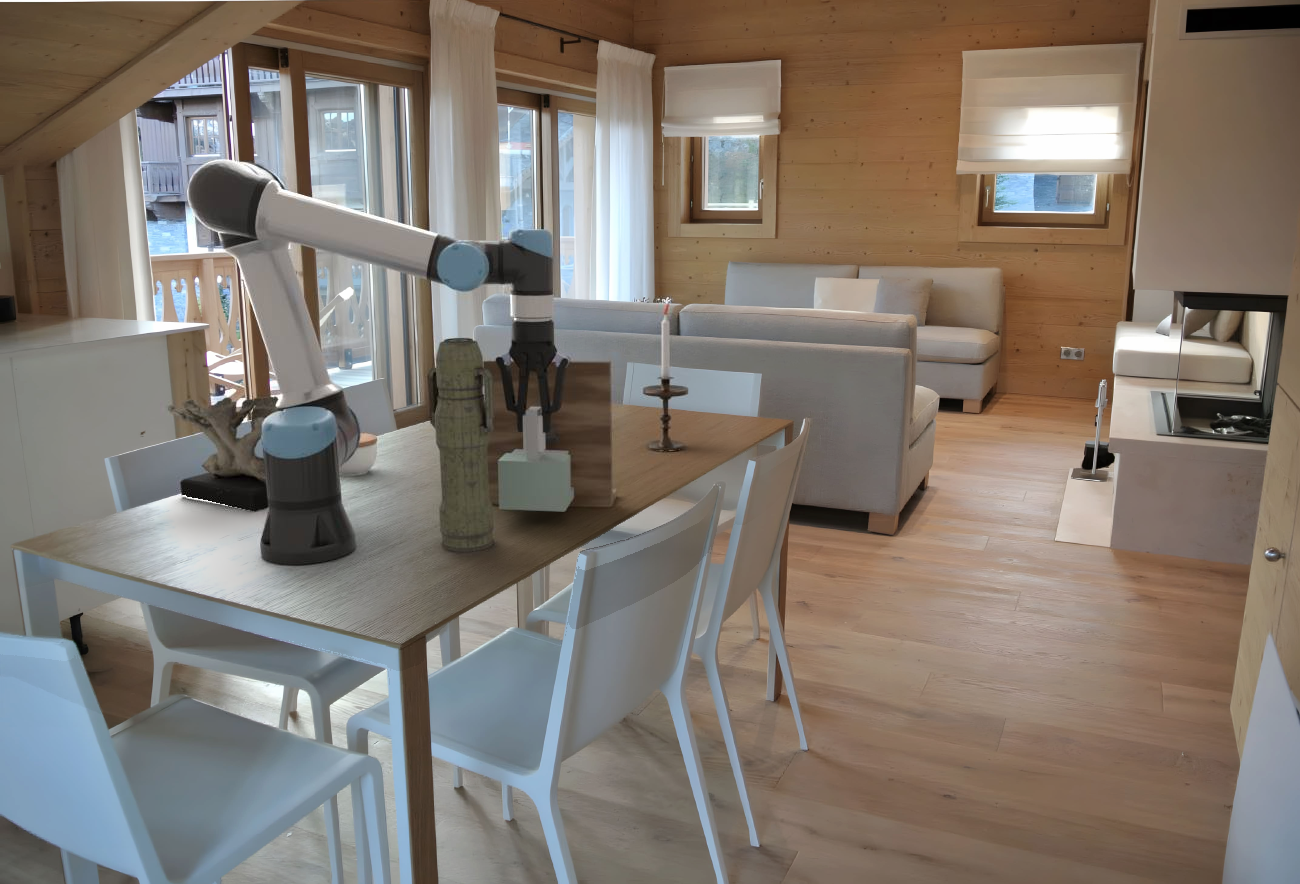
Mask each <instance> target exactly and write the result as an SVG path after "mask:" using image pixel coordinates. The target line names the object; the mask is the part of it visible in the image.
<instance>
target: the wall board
mask: <svg viewBox="0 0 1300 884" xmlns="http://www.w3.org/2000/svg"><path fill="white" fill-rule="evenodd" d="M555 363H556V360H553V361H552V362H551V364H550V365H549V366H548V368H547V378H548V387H549V395H550V404H551V405H552V403H553V395H554V387H555V379H556V372H557V368H558V367H557V366H556V364H555ZM509 366H510V369H511V376H512V382H513V388H514V395H515V401H516V404H517V399H518V387H519V368H518V366H517V365H516V363H515V362H514V361H513V359H511V364H510V365H509ZM483 367H484V369H488V370H489V372H490V373H491V375H492V376H493V390H494V416H495V418H494V431H491V432H489V434H490V442H489V445H488V447H487V455H488V480H489V498H490V500H491V503H492V505H498V506H499V483H498V460H499V459H500V458H501V457H502V456H503V455H504V454H505V453H512V452H513V451H514V450H515V449H523V432H518V429H517V414H516V413H515V412H512V411H508V410H507V408H506V402H505V396H504V389H503V383H502V377H501V371H500V368H499V367H498V365H497V363H496V359H485V360H483ZM483 394H485V379H484V386H483ZM484 401H485V400H484ZM485 404H486V401H485ZM530 407H541V401H540V392H539V384H538V378H537V372H533V371H530V374H529V381H528V393H527V404H526V409H529V408H530ZM525 413H526V411H525ZM612 415H613V413H612V361H611V360H570V363H569V364H568V366H567V368H566V372H565V379H564V387H563V395H562V403H561V408H560V409H559V410H558V411H557V412H554V413H552V414H551V429H550V431H549V433H545V447H546V449H545V450H561V451H568V455H570V471H571V487H574V498H573V500H572V501H571V503H570V504H569V506H568V507H581V508H582V507H585V508H590V507H592V508H612V506H613V505H614V502H615V500H616V499H617V496H618V494H617V493H618V490H617V489H618V488H614V487H613V428H612V426H613V425H612V424H613V423H612V422H613V420H612V419H613V418H612Z"/></svg>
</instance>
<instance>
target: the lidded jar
mask: <svg viewBox="0 0 1300 884" xmlns="http://www.w3.org/2000/svg"><path fill="white" fill-rule="evenodd" d="M377 454H378V437H377V436H376V435H375V434H372V433H363V432H361V438H360V441H359V445H358V447H357V449H356V451H355V453H354V454H353V456H352V457H351V458H350V459H349V460H348V461H347V462H345V463H344V464H343V465H342V466H341V467H340V468H339V469H340V476H345V477H356V476H358V477H359V476H362V475H365V474H368V473H369V471H370V470H371V468H373V466H374V464H375V463H376V460H377V457H378V456H377Z"/></svg>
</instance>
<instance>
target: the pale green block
mask: <svg viewBox="0 0 1300 884" xmlns="http://www.w3.org/2000/svg"><path fill="white" fill-rule="evenodd" d="M541 413H542V410H541V407H530V408H529V409H527V410H526V446H527V451H523V449H515V450H514V451H513V452H512V453H505V454H504V455H503V456H502V457H501V458H500V459H499V460H498V483H499V505H498V509H499V510H510V511H511V510H512V511H513V510H515V511H517V510H518V511H537V512H539V511H541V512H564V513H565V512H566V510H567V509H568V508H569V507H570V506H569V504H570V503H571V501H572V500H573V498H574V487H571V471H570V455H568V451H561V450H544V451H543V452H538V415H540V414H541Z"/></svg>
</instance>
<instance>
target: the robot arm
mask: <svg viewBox="0 0 1300 884" xmlns="http://www.w3.org/2000/svg"><path fill="white" fill-rule="evenodd" d="M186 194H187V202H188V205H189V209H190V210H191V212H192V214H193V216H194V217H195V218H196V219H197V221H199V222H200V223H201V224H202V225H203V226H205V227H206V228H208V229H210V230H212V231H213V232H216V233H217V234H218V237H219V240H220V244H221V246H222V249H223V251H224V252H225V253H226V254H228V255H230V256H231V257H233V258H235V259H236V261H237V264H238V267H239V270H240V273H241V276H242V279H243V282H244V283H243V284H244V285H245V287H246V288H245V289H246V291H247V294H248V297H249V302H250V304H251V306H252V310H253V312H254V315H255V319H256V321H257V325H258V327H259V331H260V334H261V338H262V340H263V343H264V346H265V349H266V353H267V355H268V359H269V361H270V364H271V368H272V370H273V372H274V373H273V375H275V379H276V382H277V385H278V389H279V391H280V397H279V398H278V400H277V404H276V409H277V412H275V413H273V414H271V415H269V416H268V417H267V418H266V419H265V420H264V422H263V424H262V435H261V439H260V444H261V446H262V454H263V457H262V458H264V467H265V478H266V488H267V499H268V508H267V513H266V514H267V515H266V518H265V523H264V526H263V529H262V533H261V538H260V542H259V544H260V556H261V558H262V559H263V560H265V561H267V562H268V563H274V564H279V565H295V566H296V565H310V564H316V563H323V562H328V561H332V560H335V559H338V558H342V557H343V556H346V555H348V554H350V553H352V552H353V551H354V550H355V548H357V543H356V532H355V530H354V528H353V526H352V523H351V520H350V518H349V515H348V514H347V512H346V509H345V507H344V504H343V499H342V488H341V487H342V484H341V475H340V469H339V468H340V467H341V466H342V465H343V464H344V463H345V462H347V461H348V460H349V459H350V458H351V457H352V456H353V454H354V453H355V451H356V449H357V447H358V445H359V441H360V438H361V433H362V426H361V422H360V419H359V417H358V415H357V413H356V411H354V409H353V408H352V407H351V406H350V405H348V402H347V400H346V396H345V393H344V391H343V387H342V386H340V385H338V384H337V383H335V382H333V381H332V380H331V379H330V375H329V374H330V373H329V372H328V368H327V365H326V362H325V359H324V356H323V352H322V350H321V346H320V343H319V341H318V337H317V334H316V331H315V328H314V325H313V322H312V319H311V315H310V312H309V309H308V306H307V303H306V300H305V296H304V293H303V289H302V286H301V284H300V281H299V276H298V274H297V271H296V268H295V264H294V261H293V258H292V255H291V252H290V249H289V246H290V244H291V243H293V244H297V245H300V246H304V247H307V248H312V249H315V250H319V251H321V252H326V253H329V254H333V255H337V256H341V257H344V258H348V259H351V260H355V261H359V262H361V263H365V264H369V265H374V266H377V267H380V268H385V269H386V270H391V271H394V272H399V273H403V274H406V275H410V276H414V277H418V278H420V279H421V278H422V279H424V280H426V281H430V282H434V283H437V284H440V285H444V286H447V287H448V288H450V289H451V290H454V291H457V292H465V293H466V292H471V291H474V290H476V289H478V288H479V287H480V286H483V285H485V286H486V285H487V286H488V285H500V286H502V285H504V286H505V285H509V289H510V290H509V292H510V293H509V294H510V297H509V298H510V300H509V301H510V317H511V318H513V319H512V320H511V322H510V338H511V339H510V341H511V342H510V346H509V348H508V352H506V353H505V354H501V355H499V356H497V357H496V358H495V360H496V363H497V365H498V367H499V368H500V371H501V377H502V383H503V389H504V396H505V402H506V408H507V410H508V411H512V412H515V413H516V414H517V429H518V432H523V451H527V446H526V413H525V411H526V410H527V409H526V404H527V393H528V381H529V374H530V371H533V372H537V378H538V384H539V392H540V401H541V410H542V413H541V414H540V415H538V452H543V451H544V450H545V449H546V447H545V433H549V431H550V429H551V414H552V413H554V412H557V411H558V410H559V409H560V408H561V403H562V395H563V387H564V379H565V372H566V368H567V366H568V364H569V363H570V361H571V358H570V357H569V356H564V355H562V354H560V353H559V352H558V349H557V348H556V345H555V321H554V320H553V319H551V318H553V317H554V316H555V303H554V302H555V301H554V300H555V299H554V295H555V294H554V249H553V248H554V245H553V235H552V233H551V232H549V230H547V229H544V228H543V229H541V228H540V229H538V228H537V229H535V228H533V229H532V228H531V229H530V228H529V229H528V228H527V229H525V228H524V229H523V228H514V229H511V230H510V231H509V233H508V237H507V239H505V240H480V239H478V240H477V239H476V240H473V239H472V240H471V239H458V238H454V237H452V236H451V237H450V236H447V235H443V234H439V233H436V232H433V231H429V230H426V229H422V228H419V227H415V226H412V225H408V224H404V223H401V222H398V221H395V220H390V219H387V218H384V217H380V216H376V215H373V214H369V213H367V212H366V213H365V212H363V211H358V210H355V209H352V208H349V207H346V206H342V205H338V204H335V203H331V202H327V201H325V200H321V199H319V198H313V197H310V196H306V195H303V194H300V193H296V192H292V191H289V190H287V188H286V186H285V183H284V182H283V181H282V180H281V178H279V176H278V175H277V174H275V173H274V172H273V171H272V170H270V169H268V168H267V167H264V165H260V164H258V163H255V162H251V161H250V162H249V161H238V160H237V161H236V160H233V159H214V160H212V161H209V162H206V163H204V164H202V165H201V166H200V167H198V168H197V169H196V170H195V171H194V172H193V174H192V176H191V177H190V180H189V182H188V185H187V193H186ZM511 360H513V361H514V362H515V363H516V365H517V366H518V368H519V387H518V399H517V404H516V401H515V395H514V388H513V382H512V376H511V369H510V366H509V365H510V364H511ZM552 361H556V363H555V364H556V366H557V367H558V368H557V372H556V379H555V387H554V395H553V403H552V405H551V404H550V395H549V387H548V378H547V368H548V366H549V365H550V364H551V362H552Z"/></svg>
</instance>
